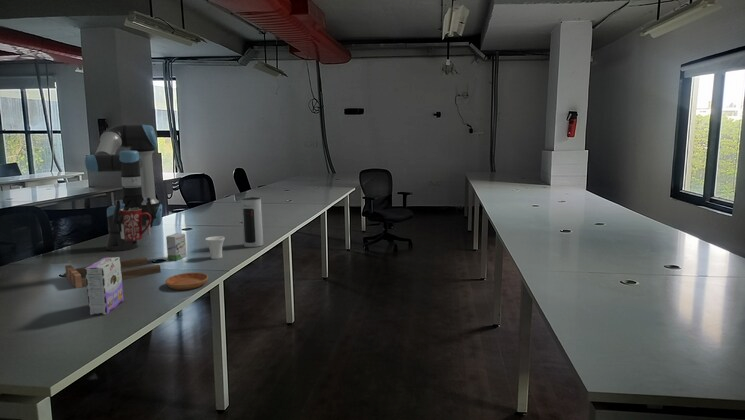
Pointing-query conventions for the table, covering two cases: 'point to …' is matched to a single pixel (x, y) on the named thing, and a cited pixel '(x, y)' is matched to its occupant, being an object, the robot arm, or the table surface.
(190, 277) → the saucer
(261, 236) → the speaker
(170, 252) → the ink box
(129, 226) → the mug
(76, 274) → the guide channel
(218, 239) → the cup
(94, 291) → the candy box
